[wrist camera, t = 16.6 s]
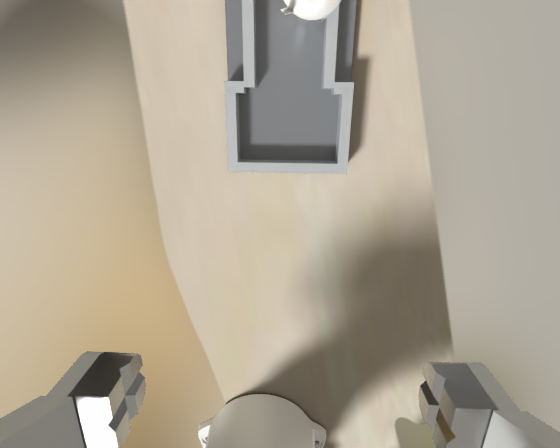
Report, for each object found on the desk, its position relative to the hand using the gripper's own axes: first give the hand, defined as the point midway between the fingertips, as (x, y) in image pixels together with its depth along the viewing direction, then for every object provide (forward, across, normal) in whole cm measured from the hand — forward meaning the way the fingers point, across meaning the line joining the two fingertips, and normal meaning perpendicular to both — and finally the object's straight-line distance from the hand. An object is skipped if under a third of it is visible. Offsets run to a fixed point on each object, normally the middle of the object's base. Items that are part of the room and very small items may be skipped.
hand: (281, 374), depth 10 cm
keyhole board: (+29, 0, +10) cm, 31 cm away
